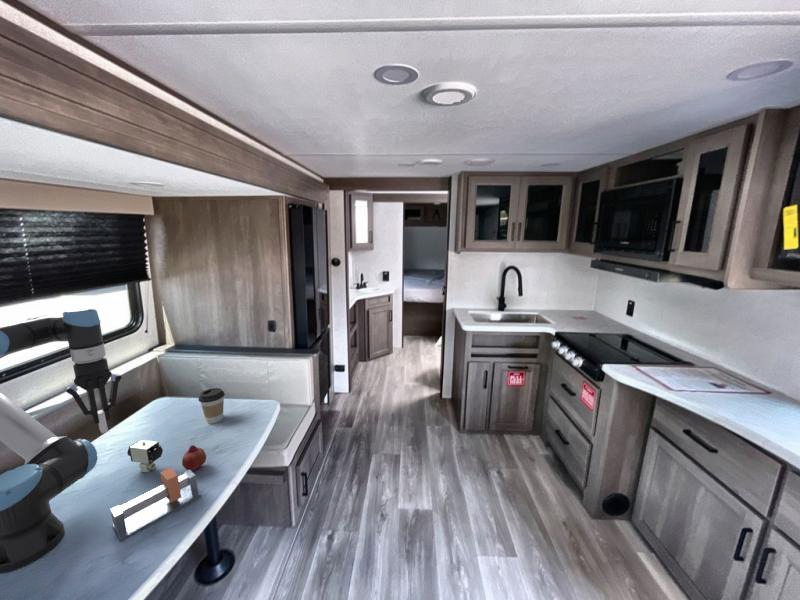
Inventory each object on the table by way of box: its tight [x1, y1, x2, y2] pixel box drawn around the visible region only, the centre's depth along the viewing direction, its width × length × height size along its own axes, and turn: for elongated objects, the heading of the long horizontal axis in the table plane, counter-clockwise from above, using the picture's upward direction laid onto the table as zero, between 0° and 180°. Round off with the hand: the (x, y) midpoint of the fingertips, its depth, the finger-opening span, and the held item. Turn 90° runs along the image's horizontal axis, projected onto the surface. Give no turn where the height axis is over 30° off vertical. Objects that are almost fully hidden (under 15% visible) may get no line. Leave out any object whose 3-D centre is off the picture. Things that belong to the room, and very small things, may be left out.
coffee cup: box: [198, 387, 226, 425], centre depth 164 cm, size 11×11×15 cm
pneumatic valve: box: [127, 439, 164, 473], centre depth 129 cm, size 6×12×12 cm, turn 78°
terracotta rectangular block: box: [160, 467, 181, 503], centre depth 112 cm, size 3×6×8 cm, turn 52°
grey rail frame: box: [110, 470, 202, 543], centre depth 109 cm, size 22×9×8 cm, turn 142°
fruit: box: [181, 444, 207, 472], centre depth 129 cm, size 8×8×10 cm
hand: (103, 430), depth 104 cm, fingers closed
